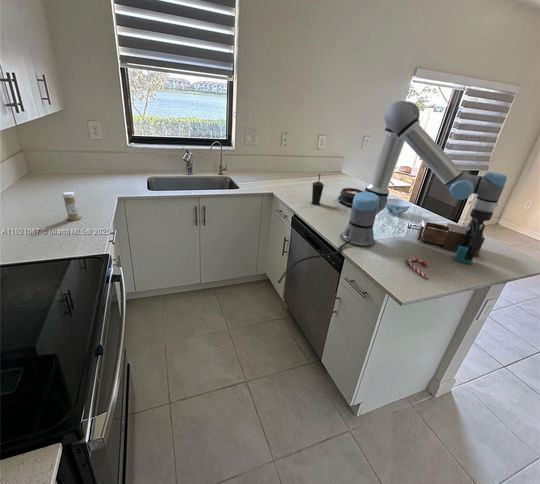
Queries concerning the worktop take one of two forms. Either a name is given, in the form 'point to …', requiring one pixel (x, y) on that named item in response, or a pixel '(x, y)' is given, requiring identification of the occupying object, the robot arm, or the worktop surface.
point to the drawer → (431, 232)
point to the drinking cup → (317, 192)
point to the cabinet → (458, 238)
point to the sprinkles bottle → (70, 205)
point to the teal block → (462, 255)
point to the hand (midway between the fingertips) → (465, 253)
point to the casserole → (348, 195)
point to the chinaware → (397, 206)
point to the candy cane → (415, 267)
